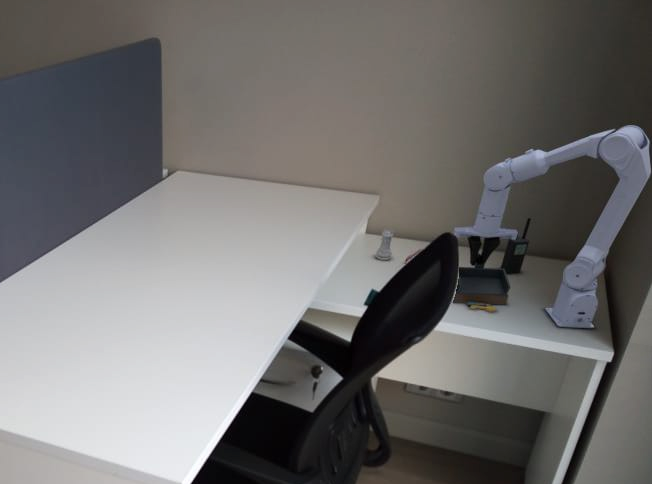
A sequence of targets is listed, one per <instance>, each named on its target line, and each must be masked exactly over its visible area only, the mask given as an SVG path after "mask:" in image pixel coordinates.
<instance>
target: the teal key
mask: <svg viewBox="0 0 652 484" xmlns="http://www.w3.org/2000/svg"><path fill="white" fill-rule="evenodd" d="M466 305H468V306H471V305H476V306H484V307H486V306H492V304H485V303H476V302H467V303H466Z"/></svg>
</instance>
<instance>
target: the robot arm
mask: <svg viewBox="0 0 652 484" xmlns="http://www.w3.org/2000/svg"><path fill="white" fill-rule="evenodd" d="M524 153H525V154H522V155H519V156H517V157H514V158H511V157H508V158H505V159H504V161H501V162H499V163H497V164H495V165H492V166H491V167H490V168H488V169H487V170H486V171H485V173H484V175H483V184H484V189H483V193H482V194H481V198H480V201H479V207H478V210H477V214H476V218H475V222H474V225H473V226H464V227H454V229H453V234H454V235H455V236H456V237H457V238H456V239H459V238H467V241H468V246H469V256H470V257H469V264H470V265H471V266H472V267H475V264H476V260H477V256H478V253H479V252H480V249H481V248H482V250H481V253H480V255H481V258H482V261H483V263H484V265H485V264H486V263H487V261H488V259H489V258H490V256H491V255H492V254H493V252H494V251H495V250H496V249H497V248H498V247H499V246H500V244H501V243H502V242H501V240H500V239H508V240H509V239H512V240H516V237H517V235H518V234H519V233H518V231H517V230H516V229H510V228H502V227H501V225H502V220H503V218H504V213H505V211H506V207H507V202H508V200H509V195H510V191H511V187H512V184H518V183H521V182H524V181H527V180H530V179H533V178H536V177H539V176H542V175H545V174H546V173H547V172H548V170H549V168H550V167H551V166H554V165H557V164H561V163H563V162H567V161H570V160H574V159H576V158H577V159H578V158H580V157H583V156H588V157H591V158H593V159H598V158H599V157H600V158H601V159H602V160H603V161H604V162H605V163H606V164H608V165H609V166H610V168H613V169H614V171H615V173H616V175H617V177H618V178H619V181H618V183H617V184H616V186H615V188H614V190H613V191H612V194H611V195H610V198H609V199H608V201H607V203H606V205H605V207H604V208H603V210H602V212H601V214H600V216H599V218H598V220H597V222H596V223H595V225H594V226H593V229H592V231H591V232H590V235H589V236H588V238H587V240H586V241H585V244H584V245H583V247H582V248H581V250H580V251H579V252H578V254H577V255H576V257H575V259H574V260H573V261H572V262H571V263H570V264H568V265H567V266H565V268H564V270H563V273H562V280H561V283H560V286H559V289H558V293H557V295H556V298H555V301H554V304H553V307H545V309H544V310H545V312H546V313H547V314H548V316H549V317H550V318H551V319H552V320H553V322H554V323H555V325H557V327H559V328H577V329H579V328H581V329H594V328H595V326H594V324H593V323H592V322H593V320H594V317H595V314H596V313H597V310H598V306H599V299H598V298H597V296H596V292H597V288H598V286H599V285H598V279H597V277H598V276H600V275H601V274H602V273H603V272H604V271H605V269H606V259H607V256H608V255H609V252H610V248H611V246H612V245H613V242H614V241H615V238H617V235H618V233H619V232H620V230H621V228H622V227H623V225H624V223H625V221H626V219H627V217H628V216H629V215H630V212H631V211H632V209H633V207H634V205H635V204H636V202H637V200H638V198H639V196H640V194H641V192H642V191H643V189H644V187H645V186H646V184H647V183H648V180H649V178H650V177H651V174H652V170H651V169H652V168H651V158H650V157H651V156H650V138H648V136H647V135H646V133H645V131H644V130H643V128H641V127H640V126H637V125H632V124H628V125H624V126H622V127H619V128H618V129H617V130H616V128H613V129H608V130H605V131H602V132H598V133H595V134H591V135H589V136H587V137H583V138H581V139H577V140H576V141H573V142H570V143H568V144H565V145H563V146H560V147H557V148H555V149H551V150H550V151H544V150H541V149H536V150H534V148H531V149H529V150H526V151H525V152H524ZM454 235H453V236H454ZM481 238H483V242H482V239H481Z"/></svg>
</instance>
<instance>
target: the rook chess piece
mask: <svg viewBox="0 0 652 484" xmlns="http://www.w3.org/2000/svg"><path fill="white" fill-rule="evenodd" d="M393 236H394V232H393V230H392V229H391V230H390V229H384V230H383V231H382V232H381V243H380V246H379V248H378V249H377V250H376V252H375V258H376V259H377V260H380V261H389V260H391V259H392V254H393V253H392V250H391V243H392V237H393Z"/></svg>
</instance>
